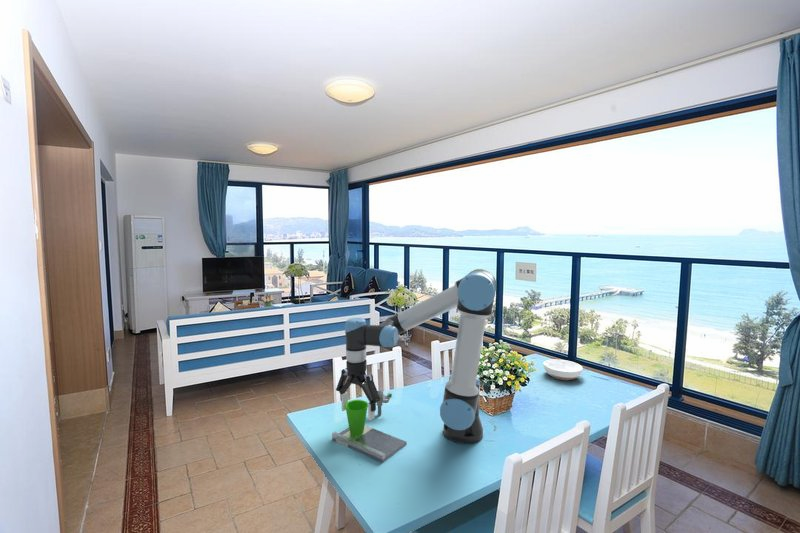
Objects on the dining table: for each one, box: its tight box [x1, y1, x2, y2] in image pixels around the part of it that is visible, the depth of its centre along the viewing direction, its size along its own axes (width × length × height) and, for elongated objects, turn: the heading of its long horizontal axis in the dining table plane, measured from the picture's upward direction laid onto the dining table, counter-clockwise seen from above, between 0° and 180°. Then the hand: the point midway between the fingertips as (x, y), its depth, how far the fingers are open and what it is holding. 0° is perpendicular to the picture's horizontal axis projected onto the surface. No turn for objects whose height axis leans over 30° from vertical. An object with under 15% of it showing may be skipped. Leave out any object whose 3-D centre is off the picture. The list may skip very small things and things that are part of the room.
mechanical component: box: [376, 390, 393, 417], centre depth 164 cm, size 3×10×10 cm, turn 78°
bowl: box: [543, 358, 584, 381], centre depth 209 cm, size 20×20×6 cm
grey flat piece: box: [331, 424, 407, 464], centre depth 144 cm, size 24×14×2 cm, turn 54°
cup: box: [345, 399, 369, 436], centre depth 148 cm, size 9×9×11 cm
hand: (357, 414), depth 148 cm, fingers open, 13 cm apart
